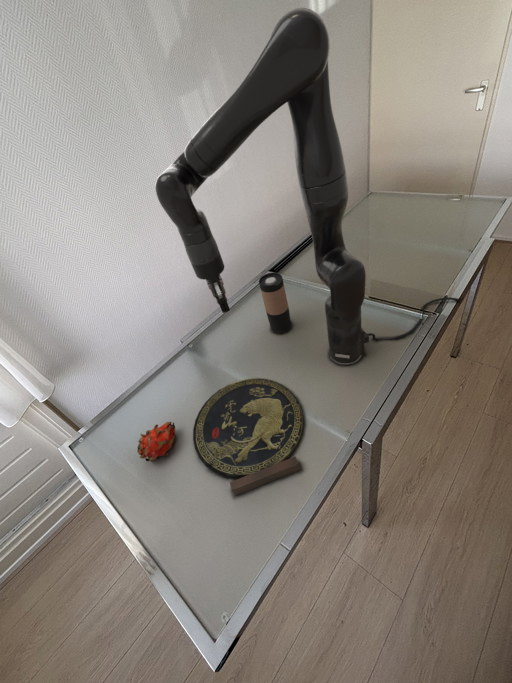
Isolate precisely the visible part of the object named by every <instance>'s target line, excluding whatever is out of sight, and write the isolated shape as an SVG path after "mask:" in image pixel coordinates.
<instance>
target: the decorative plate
mask: <svg viewBox="0 0 512 683" xmlns="http://www.w3.org/2000/svg"><path fill="white" fill-rule="evenodd" d="M303 428H304V414H303V411H302V407H301V405H300V403H299V401H298V399H297V397H296V396H295V394H294V393H293V392H292V391H291V390H290V389H289V388H287V387H286V386H284V384H281V383H279V382H277V381H275V380H272V379H268V378H262V377H261V378H260V377H252V378H245V379H244V378H243V379H240V380H237V381H234V382H232V383H229V384H226V386H223V387H221V388H219V389H218V390H217V391H216V392H215V393H214V394H212V395H211V396H210V397H209V398H208V399H207V400H206V401H205V402H204V404H203V405H202V407H201V408H200V410H199V411H198V414H197V415H196V418H195V420H194V425H193V429H192V441H193V445H194V449H195V452H196V454H197V456H198V458H199V460H200V461H201V462H202V463H203V465H204V466H205V467H206V468H208V469H209V470H210V471H211V472H213V473H214V474H216V475H218V476H220V477H223V478H226V479H231V480H237V479H239V478H242V477H244V476H247V475H250V474H252V473H255V472H257V471H260V470H262V469H265V468H267V467H270V466H272V465H275V464H277V463H280V462H282V461H285V460H288V459H289V458H290V457H291V456H292V454H293V453H294V451H295V450H296V448H297V447H298V444H299V442H300V441H301V440H300V439H301V437H302V435H303V434H302V433H303Z"/></svg>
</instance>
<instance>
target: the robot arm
mask: <svg viewBox="0 0 512 683" xmlns="http://www.w3.org/2000/svg"><path fill="white" fill-rule="evenodd" d="M330 46H331V45H330V37H329V32H328V29H327V27H326V23H325V21H324V20H323V18H322V17H321V16H320V14H318V13H317V12H316V11H314V10H313V9H312V8H311V9H310V8H307V7H297V8H295V9H291V10H290V11H287V12H286V13H285V14H284V15H282V16H281V18H280V19H279V20H278V21H277V22H276V24H275V26H274V28H273V30H272V32H271V34H270V38H269V39H268V42H267V43H266V45H265V46H264V49H263V50H262V51H261V53H260V55H259V57H258V58H257V60H256V62H255V63H254V65H253V67H252V68H251V69H250V71H249V72H248V73H247V75H246V76H245V77H244V79H243V80H242V81H241V83H240V84H239V86H238V87H237V88H236V89H235V90H234V92H232V94H231V95H229V97H228V98H227V99H226V100H225V101H224V102H223V103H222V104H221V105H220V106H219V107H218V108H217V109H216V110H215V111H214V112H213V113H212V114H211V115H210V116H209V118H208V119H207V120H206V121H205V122H204V123H203V124H202V125H201V127H200V128H199V129H198V130H197V131H196V132H195V134H194V135H193V136H192V137H191V139H190V140H189V141H188V143H187V144H186V146H185V148H184V150H183V151H182V152H181V153H180V154H179V155H178V156H177V157H176V159H175V160H173V162H172V163H171V164H170V165H169V166H168V167H167V168H166V169H165V170H164V171H162V172H161V173H160V174H159V175H158V176H157V178H156V181H155V186H154V188H155V193H156V197H157V200H158V202H159V204H160V206H161V208H162V209H163V211H164V212H165V214H166V215H167V216H168V218H169V219H170V220H171V222H172V223H173V224H174V226H175V227H176V228H177V231H178V234H179V236H180V239H181V241H182V243H183V246H184V249H185V253H186V255H187V257H188V260H189V262H190V265H191V266H192V269H193V271H194V273H195V276H196V277H197V279H200V280H203V281H204V280H205V281H206V284H207V286H208V289H209V290H210V292H211V294H212V296H213V298H214V299H215V300H216V303H217V304H218V305H219V307H220V309H221V312H222V313H223V314H225V313H227V312H229V311H230V310H231V308H230V306H229V303H228V298H227V296H226V294H227V292H226V288H225V286H224V280H223V278H222V276H221V274H222V273H223V272H224V270H225V263H224V260H223V257H222V255H221V251H220V249H219V246H218V243H217V241H216V239H215V236H214V235H213V232H212V229H211V227H210V224H209V222H208V218H207V216H206V215H205V213H204V211H203V210H201V209H197V207H196V206H195V204H194V202H193V199H192V197H193V196H194V194H195V193H196V192H197V191H198V189H199V188H200V187H201V186H202V185H203V184H204V183H205V182H206V181H207V180H208V178H209V177H211V176H212V175H214V174H215V173H217V172H218V171H219V170H220V168H222V167H223V166H224V165H225V163H226V162H227V161H229V159H230V158H231V157H232V156H233V155H234V154H235V153H236V152H237V151H238V149H240V147H241V146H242V145H243V144H244V143H245V142H246V141H247V139H248V138H249V137H250V136H252V134H253V133H254V132H255V131H256V130H257V129H258V128H259V126H260V125H262V123H264V122H265V121H266V120H267V119H268V118H270V116H271V115H273V114H274V113H275V112H276V111H277V110H279V109H280V108H281V107H282V106H285V104H286V103H287V107H288V111H289V115H290V119H291V124H292V125H291V126H292V133H293V147H294V148H293V149H294V159H295V160H294V161H295V168H296V176H297V181H298V187H299V191H300V195H301V200H302V203H303V206H304V211H305V214H306V218H307V222H308V226H309V230H310V234H311V238H312V243H313V244H312V245H313V252H314V253H313V254H314V265H315V270H316V275H317V276H318V278H319V280H320V281H321V282H322V283H323V284H324V286H326V287H327V288H328V289H329V292H330V295H329V296H328V297H327V298H326V299H325V301H324V311H325V321H326V330H327V339H328V342H327V343H328V350H329V354H328V355H329V358H330V360H331V361H332V362H334V363H335V364H337V365H340V366H350V365H353V364H356V363H358V362H359V361H360V360H361V358H362V357H363V356H365V344H368V343H370V337H372V340H373V341H378V342H379V341H393V340H398V339H401V338H404V337H406V336H408V335H410V334H411V333H413V332H414V331H416V329H417V328H418V327H419V326H420V324H421V323H422V321H423V319H420V318H419V320H418V321H417V322H416V324H415V325H414V326H413V327H412V328H411V329H410V330H409V331H407V332H405V333H402V334H400V335H396V336H393V337H387V338H377V337H376V334H374V333H372V332H371V333H370V332H369V333H367V332H366V331H365V330H364V328H362V305H363V304H364V301H365V295H366V280H367V278H366V276H367V275H366V268H365V265H364V264H363V262H362V261H361V260H360V259H358V258H357V257H355V256H354V255H353V254H351V253H350V252H349V251H348V250H347V248H346V244H345V240H344V236H343V228H342V227H343V225H342V224H343V218H344V216H345V212H346V209H347V206H348V202H349V201H348V200H349V187H348V186H349V185H348V176H347V171H346V169H347V168H346V164H345V158H344V154H343V148H342V144H341V140H340V136H339V133H338V128H337V125H336V121H335V117H334V113H333V107H332V101H331V90H330V89H331V88H330V73H329V57H330V49H331V48H330ZM449 300H450V301H456V302H461V300H460V299H459V298H456V297H440V298H436V299H433V300H430V301H428V302H425V303H424V304H423V305H422V306H421V309H420V311H421V310H423V312H424V310H425V308H426V307H427V306H428V305H430V304H433V303H436V302H439V301H449Z"/></svg>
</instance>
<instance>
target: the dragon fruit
mask: <svg viewBox="0 0 512 683" xmlns="http://www.w3.org/2000/svg"><path fill="white" fill-rule="evenodd" d="M176 436H177V435H176V425H175V422H172V421H167V422H164V423H163V424H162V425H160V426H159V424H158V423H157V424H155V425H154V427H153V428H152V429H151V430H150V429H148V430H146V431H145V434H143V433H140V438H139V440H138V441H137V442H138V446H137V451H136V452H137V453H138V455H140V456H139V459H140V458H141V459H145V461H146V462H154V461H156V459H157V458H158V457H162V456H165V457H167V456H168V451H169V450H170V449H171V448H172V446H173V445H174V443H175V439H176V438H175V437H176Z"/></svg>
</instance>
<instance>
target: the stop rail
mask: <svg viewBox="0 0 512 683" xmlns="http://www.w3.org/2000/svg"><path fill="white" fill-rule="evenodd" d="M298 471H301V468H300V465H299V461H298V460H297V457H296V456H293V457H289V458H287V460H285V461H282V462H280V463H277V464H275V465H272V466H270V467H267V468H265V469H262V470H260V471H257V472H255V473H252V474H250V475H247V476H244V477H242V478H239V479H233V480H232V481H230V482H229V485H230V490H231V492H232V494H233V496H238V495H241V494H243V493H246V492H248V491H250V490H251V491H252V490H253V489H256V488H258V487H261V486H264V485H266V484H269V483H271V482H273V481H276V480H279V479H281V478H283V477H287V476H289V475H291V474H294V473H296V472H298Z"/></svg>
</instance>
